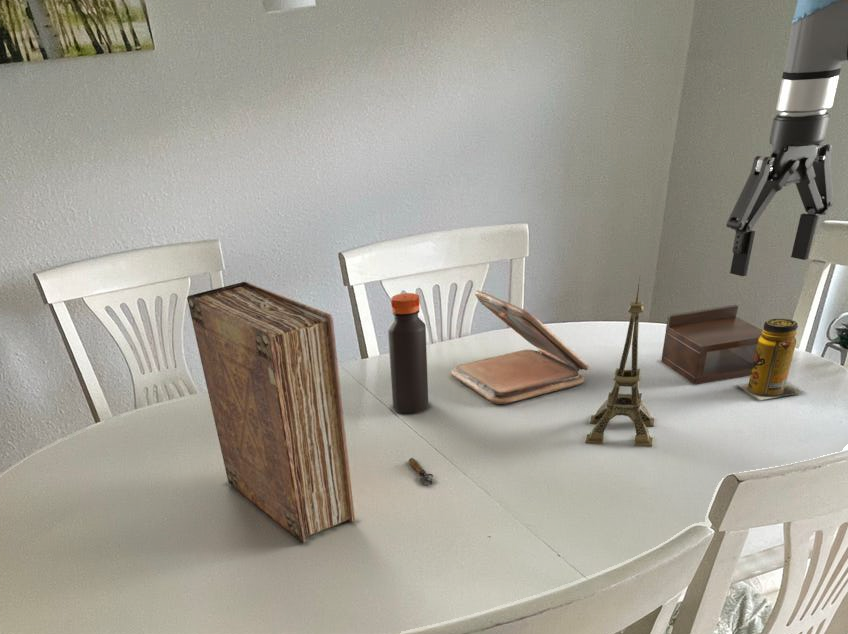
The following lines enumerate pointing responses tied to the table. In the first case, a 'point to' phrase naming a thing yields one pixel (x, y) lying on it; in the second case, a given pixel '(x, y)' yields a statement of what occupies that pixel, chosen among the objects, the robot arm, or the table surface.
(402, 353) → the vinegar
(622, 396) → the eiffel tower
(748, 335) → the box
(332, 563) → the table surface
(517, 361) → the case
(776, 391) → the condiment
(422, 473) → the can opener
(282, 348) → the book
